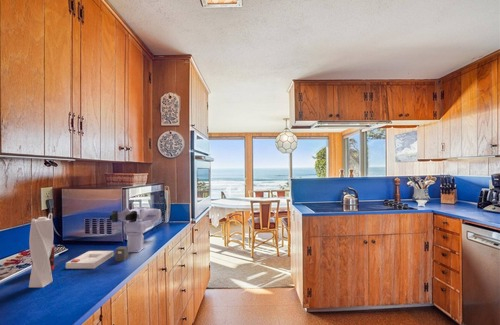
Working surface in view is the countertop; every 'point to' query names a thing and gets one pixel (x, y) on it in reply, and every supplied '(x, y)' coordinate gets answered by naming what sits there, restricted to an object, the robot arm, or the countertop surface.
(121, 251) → the plug
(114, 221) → the robot arm
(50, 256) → the canned food
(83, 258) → the socket plate
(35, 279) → the skyscraper
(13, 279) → the countertop surface
